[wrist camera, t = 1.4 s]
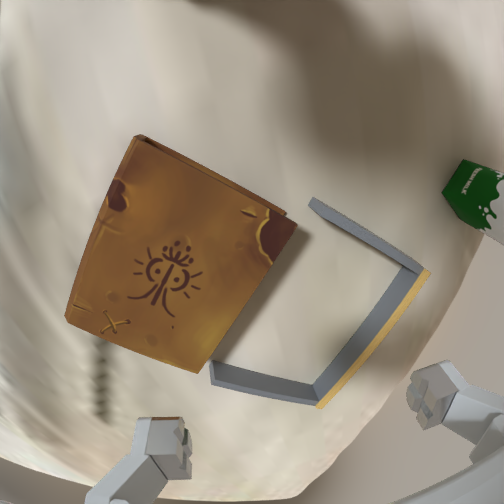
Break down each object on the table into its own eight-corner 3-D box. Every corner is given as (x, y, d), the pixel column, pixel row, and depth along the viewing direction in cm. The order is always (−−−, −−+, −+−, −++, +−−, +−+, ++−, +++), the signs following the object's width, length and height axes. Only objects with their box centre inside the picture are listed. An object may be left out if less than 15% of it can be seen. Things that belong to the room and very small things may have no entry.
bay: (209, 365, 45) (211, 387, 41) (312, 196, 37) (327, 207, 33) (313, 390, 52) (321, 409, 48) (413, 259, 44) (430, 273, 40)
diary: (142, 133, 31) (132, 136, 26) (283, 209, 38) (298, 224, 33) (74, 296, 37) (61, 321, 32) (196, 347, 44) (197, 375, 39)
